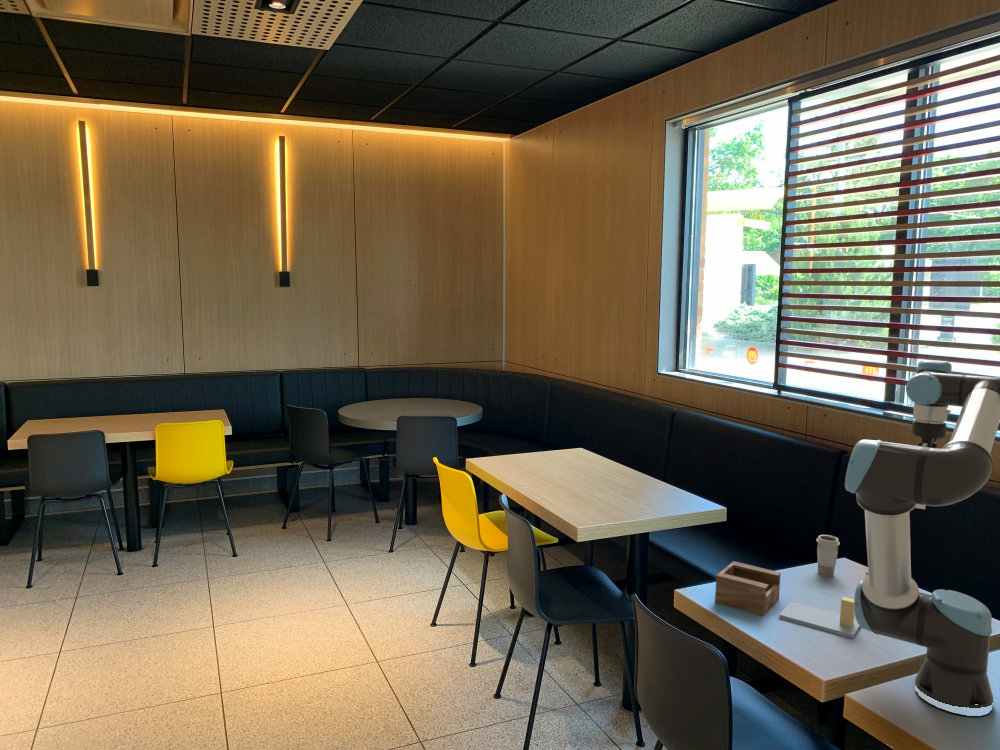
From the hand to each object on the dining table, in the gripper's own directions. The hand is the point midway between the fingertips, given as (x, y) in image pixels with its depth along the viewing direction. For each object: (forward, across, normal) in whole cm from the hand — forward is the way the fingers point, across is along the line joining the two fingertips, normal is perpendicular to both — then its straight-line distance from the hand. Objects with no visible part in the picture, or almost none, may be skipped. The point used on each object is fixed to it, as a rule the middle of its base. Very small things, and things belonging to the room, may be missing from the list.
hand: (922, 501), depth 192 cm
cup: (+37, +31, +28) cm, 56 cm away
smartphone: (+37, +35, +11) cm, 52 cm away
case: (+37, -5, +42) cm, 56 cm away
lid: (+37, -6, +21) cm, 43 cm away
